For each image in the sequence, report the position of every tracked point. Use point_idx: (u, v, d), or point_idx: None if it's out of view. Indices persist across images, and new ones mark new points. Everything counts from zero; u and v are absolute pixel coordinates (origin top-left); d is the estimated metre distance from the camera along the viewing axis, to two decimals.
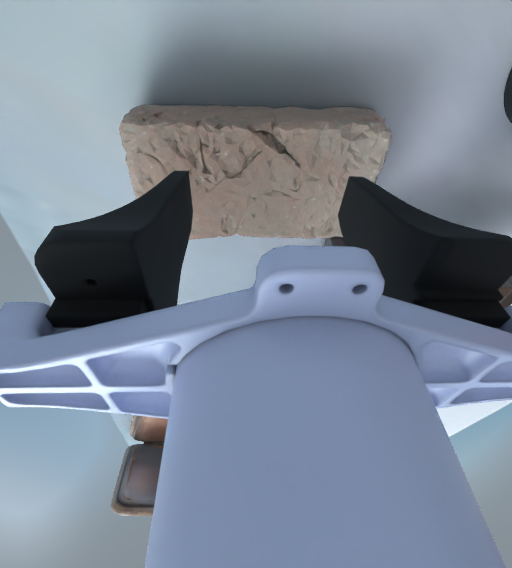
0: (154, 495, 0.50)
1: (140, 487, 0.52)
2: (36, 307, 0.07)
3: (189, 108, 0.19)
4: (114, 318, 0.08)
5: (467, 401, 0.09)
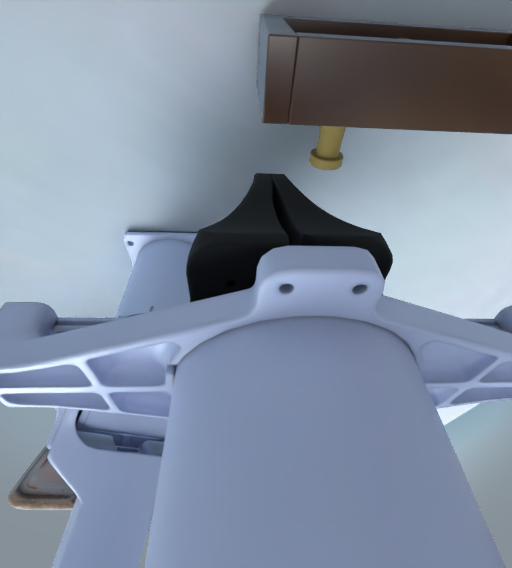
0: None
1: (58, 473, 0.40)
2: (36, 307, 0.07)
3: None
4: None
5: (467, 401, 0.09)
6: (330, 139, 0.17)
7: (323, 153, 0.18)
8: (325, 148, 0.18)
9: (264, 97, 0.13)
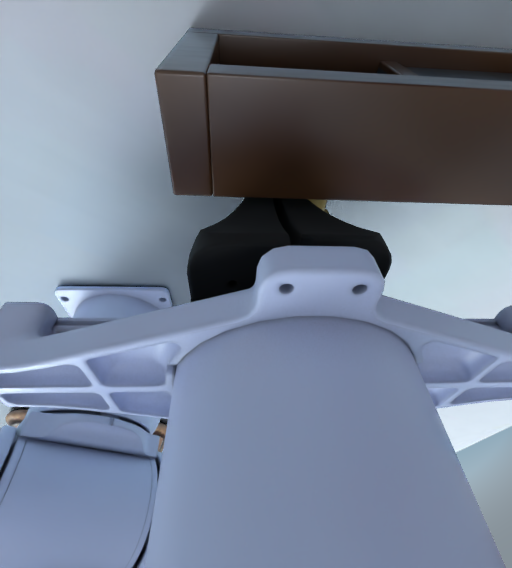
0: None
1: None
2: (36, 307, 0.07)
3: None
4: None
5: (467, 401, 0.09)
6: None
7: None
8: None
9: (169, 161, 0.08)
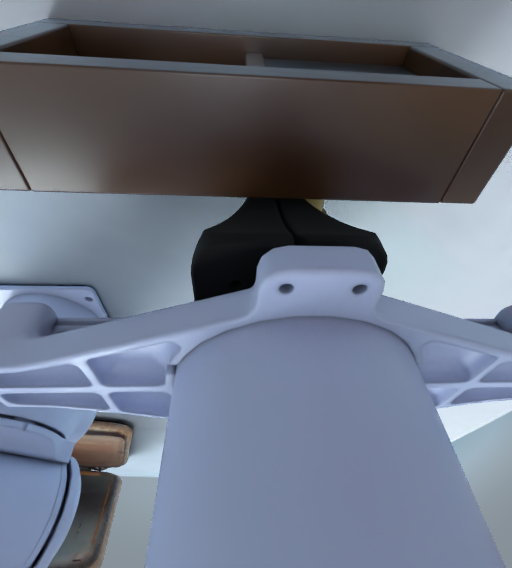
0: None
1: None
2: (36, 307, 0.07)
3: None
4: None
5: (467, 401, 0.09)
6: None
7: None
8: None
9: None
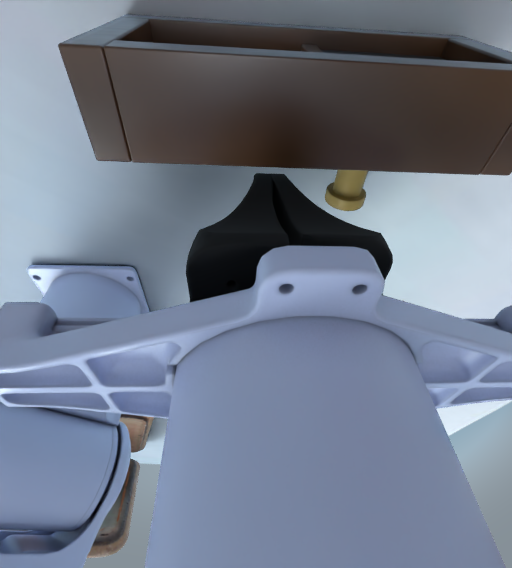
0: None
1: None
2: (36, 307, 0.07)
3: None
4: None
5: (467, 401, 0.09)
6: (352, 176, 0.14)
7: (343, 191, 0.15)
8: (345, 186, 0.14)
9: (86, 128, 0.10)
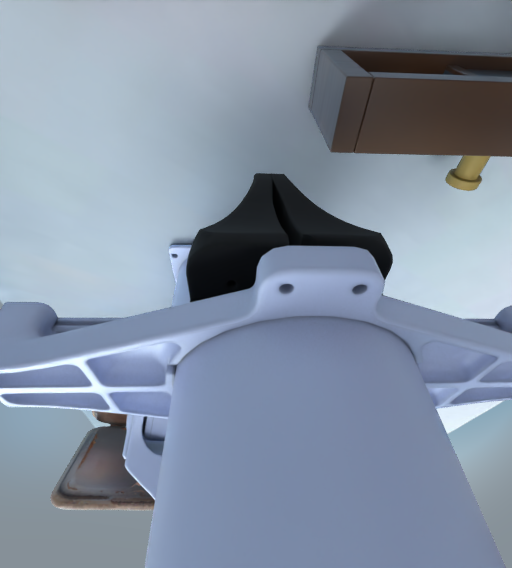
0: (109, 484, 0.40)
1: (94, 474, 0.41)
2: (36, 307, 0.07)
3: None
4: None
5: (467, 401, 0.09)
6: (477, 163, 0.19)
7: (466, 175, 0.19)
8: (469, 171, 0.19)
9: (335, 130, 0.14)
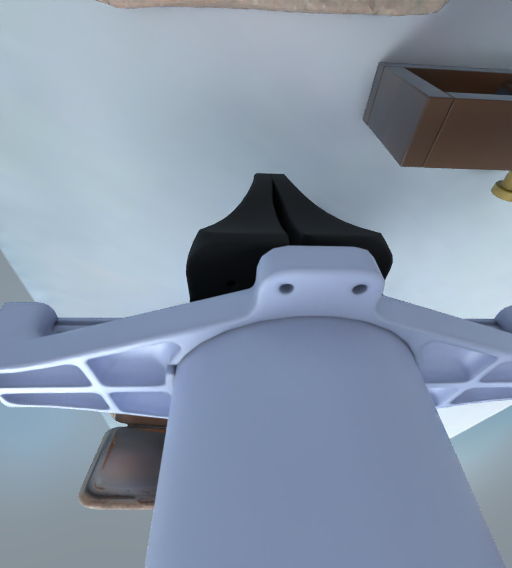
0: (134, 484, 0.40)
1: (118, 474, 0.42)
2: (36, 307, 0.07)
3: None
4: None
5: (467, 401, 0.09)
6: None
7: None
8: None
9: (409, 146, 0.15)
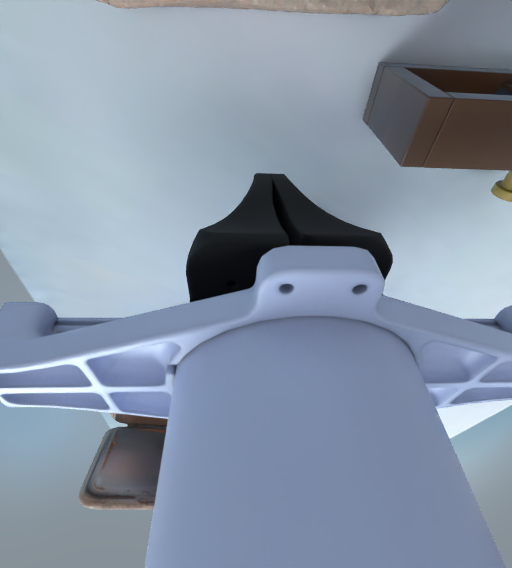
0: (134, 484, 0.40)
1: (118, 474, 0.42)
2: (36, 307, 0.07)
3: None
4: None
5: (467, 401, 0.09)
6: None
7: None
8: None
9: (409, 146, 0.15)
